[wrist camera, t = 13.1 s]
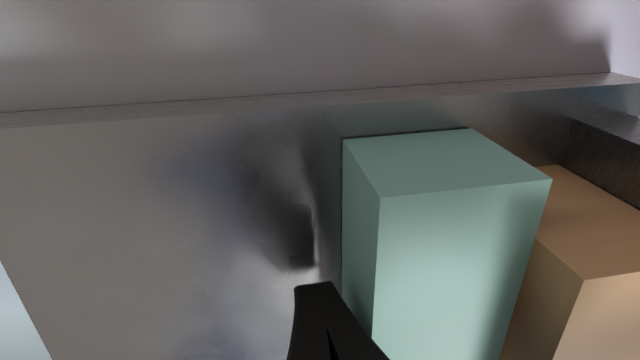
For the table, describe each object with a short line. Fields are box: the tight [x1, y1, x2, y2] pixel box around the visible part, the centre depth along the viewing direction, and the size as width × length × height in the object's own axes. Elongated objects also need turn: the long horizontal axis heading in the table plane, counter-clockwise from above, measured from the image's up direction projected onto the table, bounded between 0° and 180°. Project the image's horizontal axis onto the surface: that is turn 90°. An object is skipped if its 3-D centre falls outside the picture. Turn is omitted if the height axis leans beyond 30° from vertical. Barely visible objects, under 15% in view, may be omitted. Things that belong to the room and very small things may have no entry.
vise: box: [0, 72, 640, 360], centre depth 12 cm, size 12×20×5 cm, turn 91°
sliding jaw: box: [342, 128, 553, 360], centre depth 12 cm, size 10×4×3 cm, turn 1°
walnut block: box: [499, 165, 640, 360], centre depth 12 cm, size 6×4×5 cm, turn 1°
